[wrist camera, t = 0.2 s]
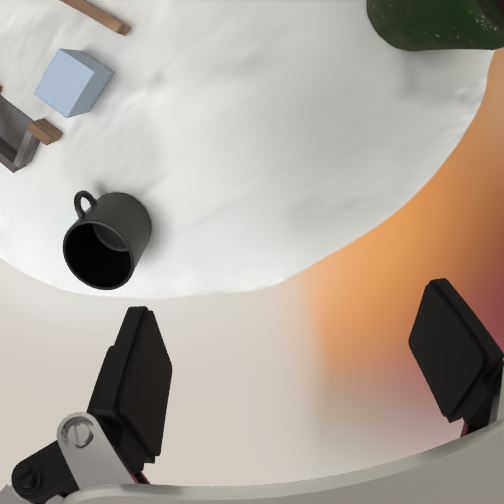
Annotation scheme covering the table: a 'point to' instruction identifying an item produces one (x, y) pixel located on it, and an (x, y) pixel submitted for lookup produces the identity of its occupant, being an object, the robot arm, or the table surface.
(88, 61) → the block
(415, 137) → the table surface
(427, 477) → the robot arm
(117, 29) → the trap box
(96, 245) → the mug
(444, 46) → the green bottle
